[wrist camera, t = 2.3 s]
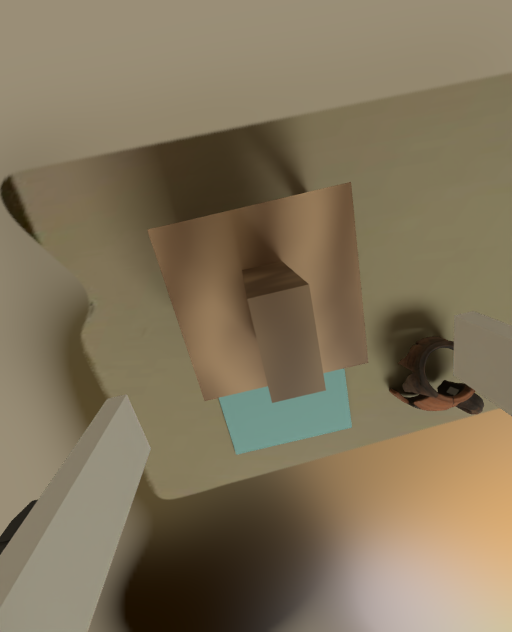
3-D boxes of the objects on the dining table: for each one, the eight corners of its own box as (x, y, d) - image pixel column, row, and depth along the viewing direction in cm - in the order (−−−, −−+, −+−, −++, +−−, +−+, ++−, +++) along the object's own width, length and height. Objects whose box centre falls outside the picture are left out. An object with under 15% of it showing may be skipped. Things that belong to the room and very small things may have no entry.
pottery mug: (366, 386, 40) (400, 389, 31) (392, 328, 42) (430, 317, 34) (443, 429, 39) (498, 443, 31) (465, 368, 41) (522, 367, 33)
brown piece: (308, 195, 30) (425, 158, 12) (326, 318, 35) (429, 427, 17) (177, 225, 30) (92, 236, 12) (213, 344, 35) (191, 483, 17)
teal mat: (337, 325, 36) (338, 326, 35) (350, 426, 41) (351, 427, 41) (206, 356, 35) (205, 357, 35) (236, 452, 41) (236, 454, 41)
